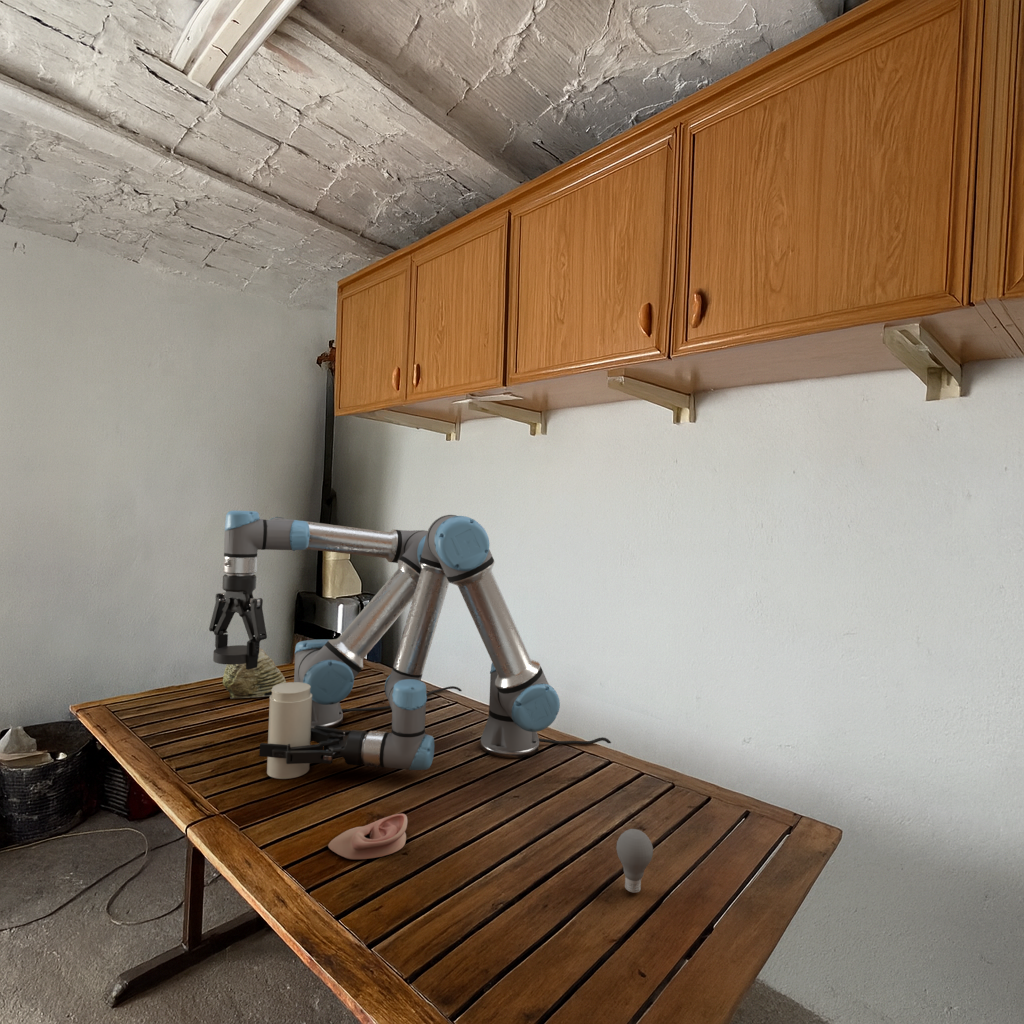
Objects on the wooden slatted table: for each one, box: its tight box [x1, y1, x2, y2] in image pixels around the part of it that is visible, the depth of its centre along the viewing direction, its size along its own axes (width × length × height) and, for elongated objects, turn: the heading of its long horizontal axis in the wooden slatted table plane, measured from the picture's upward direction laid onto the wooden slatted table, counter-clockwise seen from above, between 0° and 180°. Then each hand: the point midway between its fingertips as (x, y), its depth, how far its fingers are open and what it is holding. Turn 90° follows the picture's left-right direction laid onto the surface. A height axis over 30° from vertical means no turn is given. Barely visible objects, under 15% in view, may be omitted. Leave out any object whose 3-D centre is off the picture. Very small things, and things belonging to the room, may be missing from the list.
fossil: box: [222, 647, 287, 699], centre depth 198 cm, size 9×18×15 cm, turn 132°
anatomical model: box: [327, 813, 408, 861], centre depth 116 cm, size 13×4×12 cm
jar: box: [266, 681, 312, 780], centre depth 146 cm, size 9×9×19 cm
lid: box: [212, 644, 259, 665], centre depth 154 cm, size 10×10×2 cm
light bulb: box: [615, 828, 654, 894], centre depth 106 cm, size 6×6×10 cm
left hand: (236, 664), depth 154 cm, fingers closed on lid, 10 cm apart
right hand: (270, 741), depth 146 cm, fingers closed on jar, 9 cm apart
